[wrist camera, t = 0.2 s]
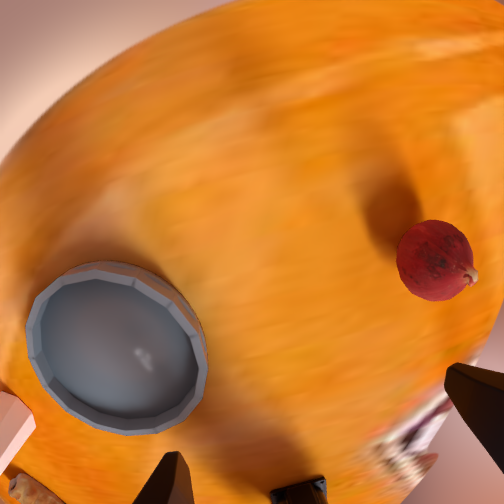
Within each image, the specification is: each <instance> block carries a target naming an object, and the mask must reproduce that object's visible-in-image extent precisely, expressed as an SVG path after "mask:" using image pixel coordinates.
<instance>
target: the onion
mask: <svg viewBox="0 0 504 504" xmlns="http://www.w3.org/2000/svg"><path fill="white" fill-rule="evenodd" d="M396 263H397V267H398V271H399V275H400V278H401V280H402V281H403V283H404V284H405V286H406V287H407V288H408V289H409V291H410V292H411V293H412V294H414V295H416V296H418V297H421V298H423V299H426V300H428V301H444V300H448V299H451V298H452V297H454V296H455V295H457V294H458V293H460V292H461V291H462V290H463V289H464V288H465V286H466V285H467V284H468V285H469V286H470V287H471V286H473V285H474V284H475V283H476V282H477V281H478V271H477V270H476V269H474V267H473V253H472V250H471V247H470V245H469V242H468V240H467V238H466V237H465V235H464V234H463V233H462V232H461V231H459V230H458V229H457V228H456V227H454V226H453V225H452V224H449V223H447V222H444V221H439V220H427V221H424V222H421V223H418V224H416V225H415V226H413V227H412V228H411V229H410V230H409V231H407V232H406V233H405V234H404V235H403V237H402V239H401V241H400V243H399V245H398V247H397V258H396Z"/></svg>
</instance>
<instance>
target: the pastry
mask: <svg viewBox="0 0 504 504" xmlns="http://www.w3.org/2000/svg"><path fill="white" fill-rule="evenodd" d="M8 493H9V495H10V497H14V498H16V499H17V500H18V501H19V502H20V503H21V504H65V503H64V502H62V501H61V499H59V498H58V497H57V496H56V494H54V493H53V492H51V491H50V490H48V489H47V488H46V487H44V486H43V485H42V484H40V483H39V482H38V481H36V480H35V479H33V478H32V477H30V476H29V475H27V474H25V473H20V474H18V475H17V477H16V478H14V479H12V480H11V481H10V485H9V491H8Z"/></svg>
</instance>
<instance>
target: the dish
mask: <svg viewBox="0 0 504 504" xmlns="http://www.w3.org/2000/svg"><path fill="white" fill-rule="evenodd" d="M25 327H26V339H27V349H28V358H29V360H30V362H31V364H32V366H33V368H34V370H35V372H36V375H37V377H38V379H39V381H40V383H41V384H42V386H43V388H44V389H45V390H46V391H47V392H48V393H49V394H50V395H51V397H52V398H53V399H54V400H55V401H56V402H57V403H58V404H59V405H60V406H61V407H62V408H63V409H64V410H65V411H66V412H68V413H69V414H71V415H73V416H74V417H76V418H78V419H80V420H81V421H83V422H85V423H87V424H88V425H90V426H92V427H94V428H96V429H100V430H104V431H108V432H112V433H116V434H121V435H125V436H131V435H145V434H157V433H160V432H162V431H164V430H166V429H168V428H170V427H172V426H175V425H177V424H179V423H181V422H183V421H184V420H185V419H186V418H187V417H188V416H189V414H190V413H191V412H192V411H193V410H194V408H195V407H196V406H197V405H198V403H199V402H200V401H201V400H202V398H203V393H204V387H205V382H206V377H207V372H208V354H207V347H206V341H205V335H204V332H203V329H202V326H201V324H200V322H199V320H198V318H197V316H196V313H195V312H194V311H193V309H192V307H191V306H190V304H189V303H188V302H187V301H186V300H185V298H184V297H183V296H182V295H181V294H180V293H179V292H178V291H177V290H176V289H175V288H174V287H173V286H172V285H170V284H169V283H168V282H166V281H165V280H164V279H162V278H161V277H159V276H157V275H156V274H154V273H152V272H150V271H148V270H146V269H144V268H141V267H139V266H136V265H132V264H129V263H125V262H119V261H94V262H88V263H85V264H81V265H78V266H76V267H74V268H72V269H70V270H68V271H67V272H65V273H64V274H63V275H61V276H60V277H58V278H57V279H56V280H55V281H54V282H53V283H52V284H50V285H49V286H48V287H47V288H46V289H45V290H44V291H42V292H41V293H40V294H39V295H38V296H37V297H36V298H35V301H34V303H33V306H32V309H31V312H30V314H29V317H28V320H27V323H26V326H25Z"/></svg>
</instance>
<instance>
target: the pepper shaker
mask: <svg viewBox="0 0 504 504" xmlns="http://www.w3.org/2000/svg"><path fill="white" fill-rule="evenodd" d="M35 428H36V425H35V421H34V418H33V414H32V411H31V410H30V409H29V408H28V407H27V406H26V405H25V404H24V403H23V402H22V401H21V400H20V399H19V398H18V397H16V396H14V395H11V394H8V393H6V392H3V391H1V392H0V475H1V474H2V472H3V471H4V470H5V468H6V467H7V466H8V464H9V463H10V461H11V460H12V459H13V457H14V456H15V454H16V453H17V452H18V450H19V449H20V448H21V446H22V445H23V444H24V442H25V441H26V440H27V438H28V437H29V436H30V434H31V433H32V432H33V430H34V429H35Z"/></svg>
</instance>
